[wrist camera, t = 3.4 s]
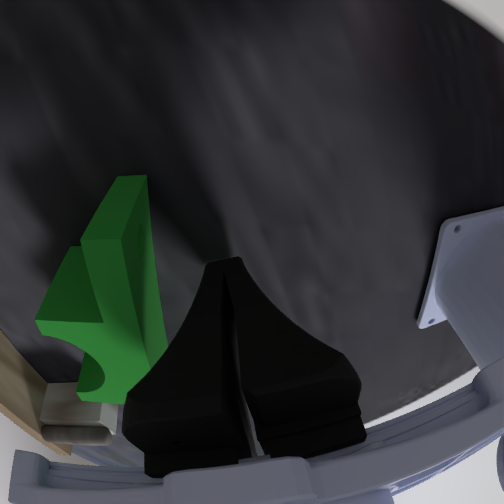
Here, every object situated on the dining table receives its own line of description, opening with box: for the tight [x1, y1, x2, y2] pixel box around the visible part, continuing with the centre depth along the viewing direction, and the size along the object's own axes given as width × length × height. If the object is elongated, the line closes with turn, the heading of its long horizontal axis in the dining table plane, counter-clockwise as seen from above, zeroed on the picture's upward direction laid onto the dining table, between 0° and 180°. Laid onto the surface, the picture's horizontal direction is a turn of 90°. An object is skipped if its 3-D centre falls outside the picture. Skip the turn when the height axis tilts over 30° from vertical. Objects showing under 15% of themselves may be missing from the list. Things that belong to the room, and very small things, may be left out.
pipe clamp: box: [35, 175, 168, 404], centre depth 12 cm, size 11×4×5 cm, turn 175°
